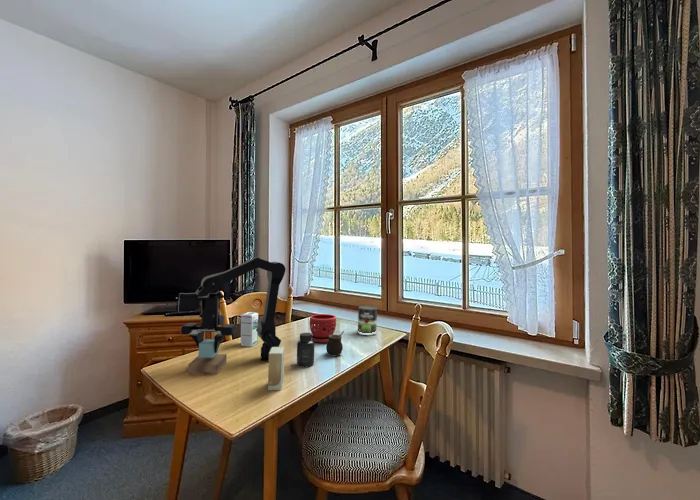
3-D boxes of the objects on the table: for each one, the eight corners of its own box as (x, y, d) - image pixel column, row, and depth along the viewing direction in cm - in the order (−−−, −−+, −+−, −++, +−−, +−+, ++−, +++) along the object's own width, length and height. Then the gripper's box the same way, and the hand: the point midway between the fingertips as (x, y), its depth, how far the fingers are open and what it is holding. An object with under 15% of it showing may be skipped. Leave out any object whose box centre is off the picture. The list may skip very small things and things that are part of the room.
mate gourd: (323, 352, 133) (324, 330, 133) (338, 350, 137) (339, 328, 137) (329, 358, 127) (330, 334, 127) (345, 356, 130) (346, 332, 130)
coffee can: (375, 336, 159) (376, 310, 159) (356, 335, 161) (357, 308, 161) (377, 331, 169) (378, 306, 169) (358, 329, 171) (359, 305, 171)
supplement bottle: (316, 362, 122) (317, 332, 122) (309, 369, 116) (310, 337, 115) (301, 359, 124) (302, 330, 124) (293, 366, 118) (294, 335, 118)
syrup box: (251, 347, 137) (252, 315, 137) (240, 345, 139) (240, 314, 138) (258, 343, 143) (259, 312, 143) (246, 342, 144) (247, 311, 144)
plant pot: (340, 339, 153) (341, 315, 153) (324, 346, 142) (325, 320, 142) (320, 334, 160) (320, 311, 160) (303, 340, 149) (304, 316, 149)
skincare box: (270, 381, 104) (271, 346, 104) (283, 381, 104) (284, 346, 104) (267, 390, 98) (268, 353, 97) (281, 390, 98) (282, 353, 98)
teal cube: (218, 352, 115) (218, 339, 115) (212, 357, 110) (212, 343, 110) (205, 352, 115) (205, 339, 115) (198, 357, 110) (198, 343, 110)
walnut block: (226, 364, 118) (226, 354, 118) (217, 375, 108) (217, 364, 108) (199, 364, 117) (200, 354, 117) (188, 375, 107) (188, 364, 107)
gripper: (242, 306, 121) (241, 345, 121) (195, 305, 121) (194, 344, 121) (231, 312, 109) (230, 355, 110) (179, 311, 109) (179, 354, 110)
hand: (208, 352), depth 113 cm, fingers closed on teal cube, 5 cm apart
